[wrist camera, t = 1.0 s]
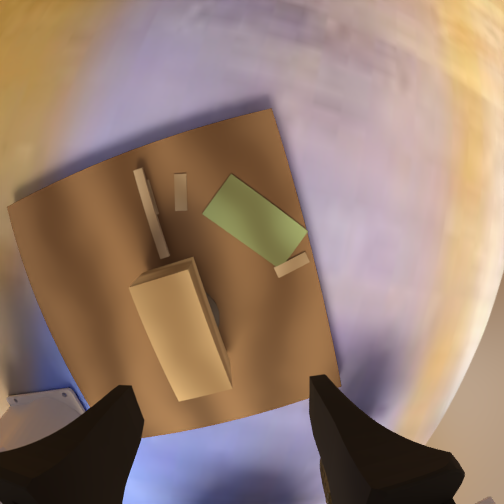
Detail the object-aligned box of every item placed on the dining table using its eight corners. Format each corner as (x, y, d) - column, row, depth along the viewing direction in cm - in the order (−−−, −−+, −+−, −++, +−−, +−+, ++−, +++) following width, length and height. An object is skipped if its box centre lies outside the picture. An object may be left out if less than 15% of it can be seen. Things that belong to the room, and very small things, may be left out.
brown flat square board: (115, 433, 25) (112, 442, 23) (15, 205, 20) (6, 207, 19) (337, 378, 26) (342, 386, 24) (269, 112, 21) (272, 107, 20)
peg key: (179, 370, 23) (173, 402, 19) (110, 181, 20) (87, 178, 16) (235, 355, 23) (238, 387, 19) (171, 159, 20) (159, 151, 16)
